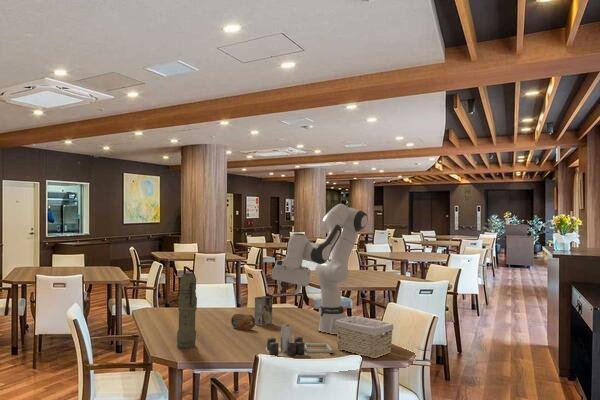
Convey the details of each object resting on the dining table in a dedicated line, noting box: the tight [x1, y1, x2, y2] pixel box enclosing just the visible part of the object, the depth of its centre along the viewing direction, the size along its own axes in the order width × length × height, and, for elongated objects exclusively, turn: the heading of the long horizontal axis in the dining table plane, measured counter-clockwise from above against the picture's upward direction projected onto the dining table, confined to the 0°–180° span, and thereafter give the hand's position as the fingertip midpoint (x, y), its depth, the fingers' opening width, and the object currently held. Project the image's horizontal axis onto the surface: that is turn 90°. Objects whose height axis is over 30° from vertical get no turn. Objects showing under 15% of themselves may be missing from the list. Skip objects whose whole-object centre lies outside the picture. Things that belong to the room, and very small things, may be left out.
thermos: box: [176, 272, 198, 349], centre depth 228 cm, size 9×12×35 cm
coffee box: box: [254, 295, 273, 327], centre depth 280 cm, size 9×6×16 cm
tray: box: [304, 342, 333, 354], centre depth 224 cm, size 12×12×2 cm
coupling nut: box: [280, 323, 293, 353], centre depth 218 cm, size 5×4×12 cm
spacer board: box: [265, 336, 308, 357], centre depth 217 cm, size 18×16×6 cm
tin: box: [231, 313, 256, 331], centre depth 267 cm, size 15×3×8 cm, turn 62°
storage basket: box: [336, 315, 394, 357], centre depth 223 cm, size 24×16×15 cm
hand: (287, 292), depth 233 cm, fingers open, 8 cm apart
